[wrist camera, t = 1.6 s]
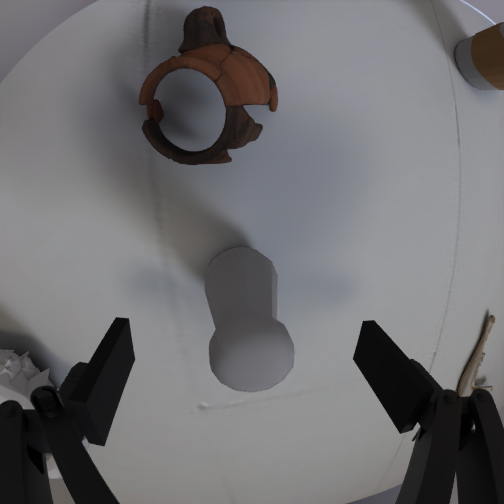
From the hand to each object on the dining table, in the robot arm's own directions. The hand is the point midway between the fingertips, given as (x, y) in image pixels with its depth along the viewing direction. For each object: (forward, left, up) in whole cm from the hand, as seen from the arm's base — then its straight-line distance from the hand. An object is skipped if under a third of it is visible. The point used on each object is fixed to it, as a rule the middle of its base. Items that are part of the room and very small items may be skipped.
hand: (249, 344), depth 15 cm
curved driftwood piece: (+15, +41, -11) cm, 45 cm away
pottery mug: (-15, -3, -11) cm, 19 cm away
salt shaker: (0, 0, -11) cm, 11 cm away
